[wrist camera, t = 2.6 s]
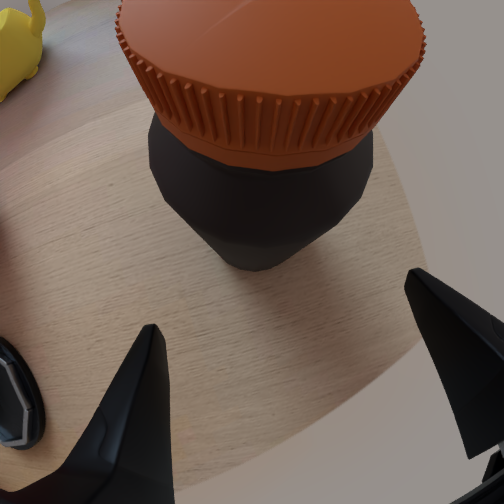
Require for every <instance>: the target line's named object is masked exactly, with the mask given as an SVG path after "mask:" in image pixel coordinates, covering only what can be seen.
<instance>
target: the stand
mask: <svg viewBox="0 0 504 504" xmlns="http://www.w3.org/2000/svg"><path fill="white" fill-rule="evenodd" d="M44 430H45V411H44V405H43V401H42V397H41V394H40V391H39V388H38V386H37V383H36V381H35V379H34V377H33V375H32V373H31V371H30V369H29V367H28V366H27V364H26V362H25V361H24V359H23V358H22V356H21V355H20V354H19V353H18V351H17V350H16V349H15V348H14V347H13V346H12V345H11V344H10V343H9V342H8V341H7V340H5V339H4V338H2V337H0V443H1V444H2V445H3V446H5V447H11V448H14V449H18V450H26V449H29V448H31V447H33V446H34V445H36V444H37V443H38V442H39V441H40V440H41V438H42V437H43V434H44Z"/></svg>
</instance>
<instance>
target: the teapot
mask: <svg viewBox="0 0 504 504" xmlns="http://www.w3.org/2000/svg"><path fill="white" fill-rule="evenodd" d="M28 3H29V7H30V10H31V13H32V17H29V16H28V15H26V14H24V13H22V12H20V11H17V10H15V9H12V8H6V9H4V10H3V11H1V12H0V102H2V101H3V100H4V99H5V97H6V96H7V94H8V92H10V91H11V90H12V89H13V88H14V87H16V86H17V85H18V84H19V83H20V82H21V81H22V80H23V79H24V78H25V79H30V78H32V77H33V76H34V75H35V74H36V73H37V71H38V66H37V65H38V63H39V62H40V59H41V55H42V31H43V30H44V27H45V21H46V18H45V13H44V10H43V8H42V6H41V4H40V1H39V0H28Z"/></svg>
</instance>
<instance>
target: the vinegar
mask: <svg viewBox="0 0 504 504" xmlns="http://www.w3.org/2000/svg"><path fill="white" fill-rule="evenodd" d="M121 1H122V5H119V6H118V8H119V10H120V11H119V12H117V13H116V16H117V18H118V19H116V20H115V23H116V25H117V27H115V30H116V32H117V35H116V37H117V39H118V41H119V44H120V46H121V48H122V50H123V52H124V54H125V56H126V58H127V60H128V62H129V64H130V66H131V68H132V70H133V72H134V74H135V75H136V77H137V79H138V81H139V83H140V85H141V87H142V89H143V91H144V92H145V94H146V96H147V98H148V99H149V100H150V103H151V104H152V106H153V108H154V110H155V113H154V116H153V119H152V123H151V126H150V129H149V133H148V146H149V164H150V169H151V171H152V174H153V176H154V178H155V180H156V182H157V185H158V187H159V189H160V191H161V193H162V196H163V198H164V200H165V201H166V202H167V203H168V204H169V205H170V206H171V207H172V208H173V209H174V210H175V211H176V212H177V213H178V214H179V215H180V216H181V217H182V218H183V219H184V220H185V221H186V223H187V224H188V225H189V226H190V227H191V228H192V229H193V230H194V231H195V232H196V233H197V234H198V235H199V236H200V237H201V238H202V239H203V240H205V241H206V242H207V243H208V244H209V245H210V246H211V247H212V248H213V249H214V250H215V251H216V252H217V253H218V254H219V255H220V256H221V257H222V258H223V259H224V260H225V261H226V262H227V263H228V264H230V265H232V266H234V267H236V268H238V269H241V270H248V271H261V270H267V269H270V268H272V267H274V266H276V265H278V264H280V263H282V262H283V261H285V260H286V259H288V258H289V257H291V256H292V255H294V254H295V253H297V252H298V251H300V250H301V249H302V248H304V247H305V246H307V245H308V244H310V243H311V242H313V241H314V240H316V239H317V238H318V237H320V236H321V235H323V234H324V233H326V232H327V231H329V230H330V229H332V228H333V227H334V226H336V225H337V224H338V223H339V222H340V221H341V220H342V218H343V217H344V216H345V215H346V214H347V213H348V212H349V211H350V210H351V208H352V207H353V206H354V205H355V204H356V203H357V202H358V201H359V199H360V198H361V196H362V194H363V191H364V189H365V186H366V184H367V181H368V178H369V176H370V173H371V170H372V168H373V132H372V129H373V128H374V127H375V126H376V124H377V123H378V122H379V120H380V119H381V118H382V116H383V115H384V114H385V113H386V111H387V110H388V109H389V107H390V106H391V104H392V103H393V102H394V100H395V99H396V98H397V96H398V95H399V94H400V92H401V91H402V90H403V88H404V87H405V86H406V85H407V83H408V82H409V80H410V79H411V78H412V76H413V75H414V74H415V73H416V71H417V70H418V68H419V67H420V63H421V62H422V61H423V59H424V58H423V57H422V56H423V55H424V54H425V50H424V47H425V46H426V45H427V44H426V43H425V42H424V40H425V38H426V36H425V35H424V34H423V32H424V30H425V29H424V28H422V27H421V24H422V23H423V22H422V21H420V20H419V18H418V17H419V15H418V14H417V12H416V9H415V7H413V5H412V4H411V2H410V0H121Z"/></svg>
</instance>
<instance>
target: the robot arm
mask: <svg viewBox="0 0 504 504" xmlns="http://www.w3.org/2000/svg"><path fill="white" fill-rule="evenodd" d="M404 290H405V293H406V296H407V298H408V301H409V304H410V307H411V309H412V312H413V315H414V318H415V321H416V323H417V326H418V328H419V330H420V333H421V335H422V337H423V339H424V341H425V344H426V346H427V348H428V350H429V353H430V355H431V357H432V360H433V362H434V364H435V367H436V369H437V372H438V374H439V376H440V379H441V381H442V384H443V386H444V389H445V392H446V394H447V397H448V399H449V402H450V405H451V408H452V410H453V413H454V415H455V420H456V422H457V425H458V428H459V431H460V434H461V438H462V440H463V444H464V447H465V450H466V454H467V457H468V459H472V458H473V457H475V456H477V455H479V454H481V453H483V452H485V451H486V450H488V449H490V448H492V447H493V446H495V445H497V444H498V445H499V448H500V449H499V450H498V451H497V452H495V453H494V454H492V455H491V457H490V460H489V463H488V466H487V468H486V471H485V474H484V477H483V479H482V484H481V485H479V486H478V487H476V488H475V489H473V490H472V491H470V492H469V493H467V494H465V495H464V496H462V497H460V498H459V499H457V500H455V501H454V502H452V503H450V504H504V323H503V322H501V321H500V320H499V319H497V318H496V317H494V316H493V315H490V313H488V312H487V311H486V310H484V309H482V308H481V307H480V306H478V305H477V304H475V303H474V302H472V301H471V300H469V299H468V298H466V297H465V296H463V295H462V294H460V293H459V292H457V291H455V290H454V289H453V288H451V287H449V286H448V285H446V284H445V283H443V282H442V281H440V280H439V279H437V278H435V277H434V276H432V275H431V274H429V273H427V272H426V271H424V270H422V269H421V268H414V269H411V270H409V271H408V274H407V278H406V281H405V285H404ZM99 406H100V407H98V408H97V410H96V411H95V413H94V415H93V417H92V419H91V421H90V422H89V424H88V426H87V428H86V429H85V431H84V432H83V434H82V436H81V437H80V439H79V440H78V442H77V443H76V445H75V446H74V448H73V449H72V451H71V453H70V454H69V456H68V457H67V459H66V460H65V462H64V463H63V464H62V465H61V466H60V467H59V468H58V469H57V470H56V471H55V472H53V473H51V474H49V475H47V476H46V477H44V478H42V479H40V480H38V481H36V482H34V483H32V484H30V485H29V486H27V487H25V488H23V489H21V490H18V491H15V492H8V491H5V490H3V489H0V504H175V500H174V488H173V475H172V458H171V433H170V381H169V371H168V362H167V352H166V342H165V338H164V336H163V335H162V333H161V331H160V330H159V328H158V326H157V325H156V324H148V325H145V326H143V328H142V330H141V331H140V333H139V335H138V336H137V338H136V340H135V341H134V343H133V345H132V347H131V348H130V350H129V352H128V354H127V355H126V357H125V359H124V361H123V362H122V364H121V366H120V368H119V369H118V371H117V373H116V375H115V377H114V378H113V380H112V382H111V384H110V386H109V388H108V389H107V391H106V393H105V395H104V397H103V399H102V400H101V402H100V404H99Z"/></svg>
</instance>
